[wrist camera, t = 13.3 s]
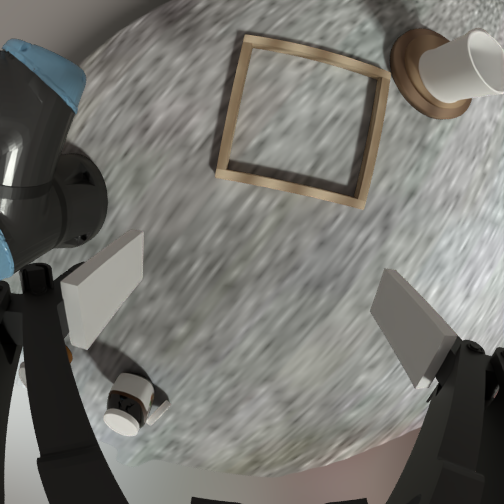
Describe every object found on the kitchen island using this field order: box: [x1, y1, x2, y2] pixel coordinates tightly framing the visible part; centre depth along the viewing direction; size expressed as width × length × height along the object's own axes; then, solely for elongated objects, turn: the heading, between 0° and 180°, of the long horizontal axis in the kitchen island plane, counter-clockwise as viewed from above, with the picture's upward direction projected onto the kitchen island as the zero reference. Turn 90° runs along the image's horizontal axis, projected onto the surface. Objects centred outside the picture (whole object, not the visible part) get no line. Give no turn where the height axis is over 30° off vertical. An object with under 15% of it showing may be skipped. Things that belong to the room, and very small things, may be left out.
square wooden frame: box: [215, 35, 391, 210], centre depth 35 cm, size 20×20×2 cm
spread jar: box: [103, 372, 171, 436], centre depth 48 cm, size 12×11×12 cm
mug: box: [419, 28, 504, 103], centre depth 23 cm, size 12×8×12 cm
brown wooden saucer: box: [390, 28, 472, 119], centre depth 31 cm, size 15×15×3 cm
